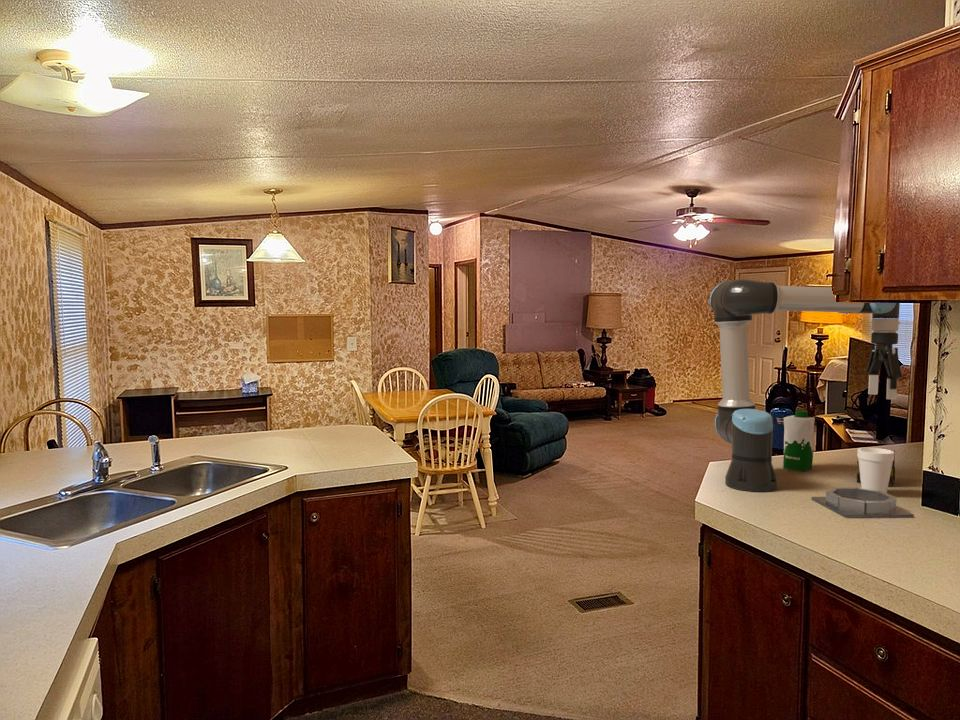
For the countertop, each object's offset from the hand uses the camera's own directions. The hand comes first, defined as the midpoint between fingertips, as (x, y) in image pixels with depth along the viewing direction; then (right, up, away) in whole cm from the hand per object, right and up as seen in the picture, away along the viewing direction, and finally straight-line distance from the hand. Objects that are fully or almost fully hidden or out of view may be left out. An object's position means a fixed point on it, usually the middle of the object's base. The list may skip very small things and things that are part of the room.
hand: (881, 396), depth 222 cm
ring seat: (-26, -29, -34) cm, 52 cm away
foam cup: (-14, -28, -19) cm, 37 cm away
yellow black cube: (-5, -27, -5) cm, 28 cm away
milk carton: (-21, -26, +14) cm, 36 cm away
